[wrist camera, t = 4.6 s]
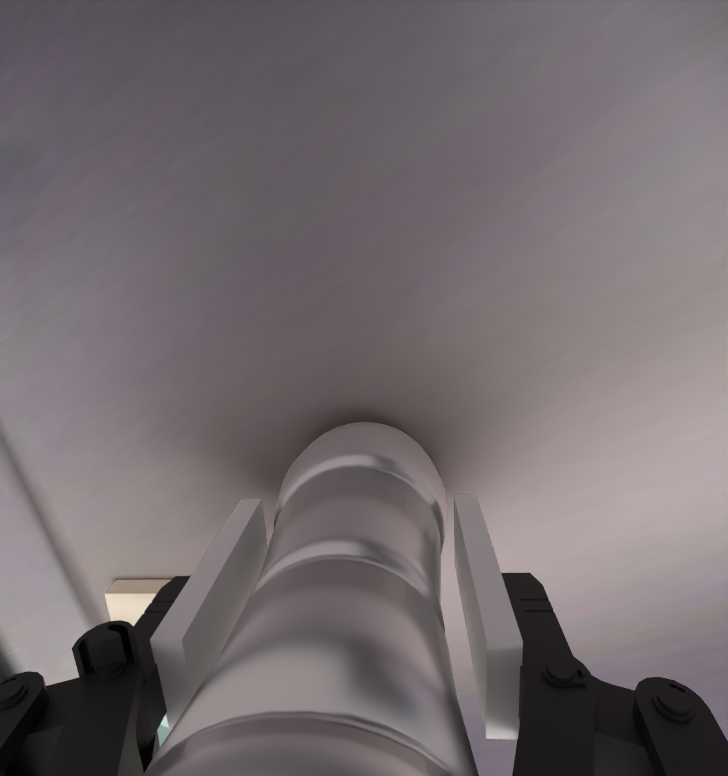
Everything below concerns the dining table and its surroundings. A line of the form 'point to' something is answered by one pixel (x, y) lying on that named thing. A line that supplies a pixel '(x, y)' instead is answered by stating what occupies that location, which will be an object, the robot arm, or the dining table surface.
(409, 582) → the plastic bottle
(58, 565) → the dining table surface
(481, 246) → the dining table surface
